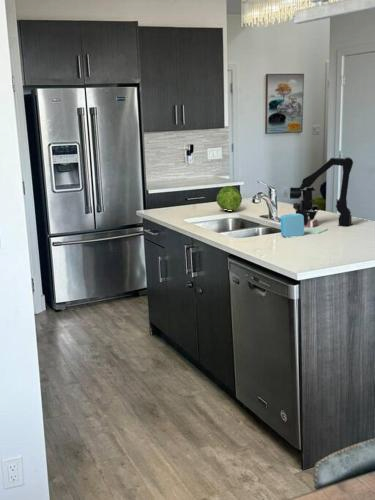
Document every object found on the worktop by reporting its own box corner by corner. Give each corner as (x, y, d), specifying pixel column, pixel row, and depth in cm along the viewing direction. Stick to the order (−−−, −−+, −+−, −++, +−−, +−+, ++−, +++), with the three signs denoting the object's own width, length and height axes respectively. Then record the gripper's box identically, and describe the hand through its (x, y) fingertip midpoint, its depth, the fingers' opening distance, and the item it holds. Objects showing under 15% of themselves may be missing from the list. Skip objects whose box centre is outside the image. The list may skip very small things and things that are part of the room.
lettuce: (233, 207, 447) (232, 182, 443) (246, 211, 425) (245, 185, 421) (211, 210, 441) (209, 185, 437) (223, 214, 420) (221, 188, 416)
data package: (300, 234, 337) (300, 213, 334) (304, 235, 333) (303, 214, 330) (281, 236, 334) (280, 215, 332) (284, 238, 330) (283, 216, 327)
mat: (327, 229, 343) (327, 228, 343) (317, 233, 334) (317, 232, 334) (306, 228, 352) (306, 227, 352) (295, 232, 343) (295, 231, 343)
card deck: (304, 224, 363) (304, 218, 362) (317, 225, 357) (317, 219, 356) (299, 226, 359) (298, 220, 358) (312, 227, 353) (312, 220, 352)
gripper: (303, 195, 366) (304, 220, 370) (287, 200, 353) (288, 226, 356) (320, 196, 359) (320, 221, 362) (304, 200, 345) (304, 227, 349)
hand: (308, 224), depth 358 cm, fingers closed on card deck, 6 cm apart
